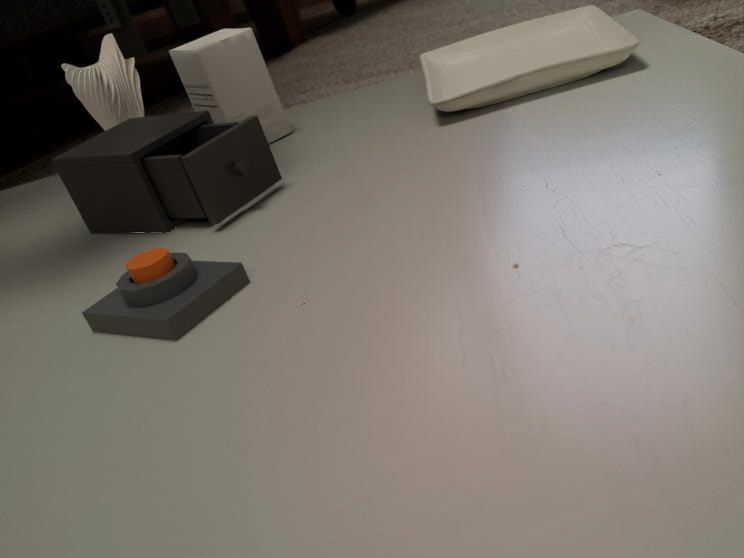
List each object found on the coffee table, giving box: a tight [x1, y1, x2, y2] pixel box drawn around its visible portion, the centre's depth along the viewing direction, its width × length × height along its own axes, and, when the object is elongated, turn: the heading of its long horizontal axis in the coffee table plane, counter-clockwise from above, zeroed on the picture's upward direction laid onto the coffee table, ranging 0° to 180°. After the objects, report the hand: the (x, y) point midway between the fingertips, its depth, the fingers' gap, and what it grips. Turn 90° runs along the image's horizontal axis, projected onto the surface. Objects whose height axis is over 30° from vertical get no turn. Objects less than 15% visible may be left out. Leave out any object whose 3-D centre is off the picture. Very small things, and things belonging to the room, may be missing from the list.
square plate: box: [419, 4, 641, 113], centre depth 116 cm, size 27×27×4 cm
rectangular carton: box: [168, 27, 293, 145], centre depth 118 cm, size 9×9×15 cm
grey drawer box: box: [50, 111, 214, 234], centre depth 103 cm, size 15×13×10 cm
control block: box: [81, 252, 251, 341], centre depth 79 cm, size 12×10×4 cm
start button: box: [125, 247, 175, 284], centre depth 78 cm, size 4×4×2 cm
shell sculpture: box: [61, 32, 146, 131], centre depth 124 cm, size 8×8×18 cm
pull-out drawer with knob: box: [140, 116, 283, 225], centre depth 99 cm, size 15×12×8 cm
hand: (164, 40), depth 100 cm, fingers open, 13 cm apart
